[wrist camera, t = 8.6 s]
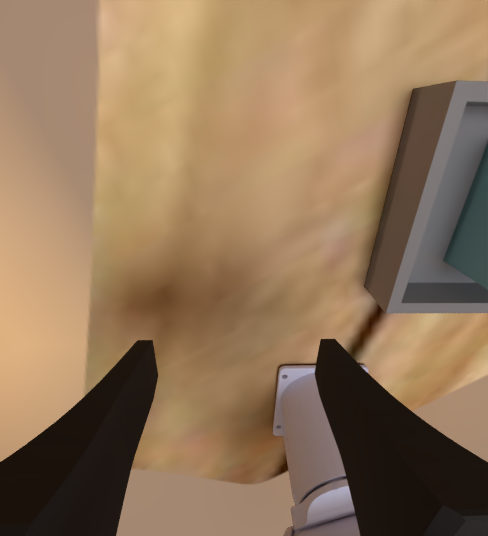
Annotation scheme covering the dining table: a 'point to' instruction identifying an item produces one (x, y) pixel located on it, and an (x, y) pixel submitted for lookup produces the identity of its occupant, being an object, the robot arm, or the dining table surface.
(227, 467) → the dining table surface
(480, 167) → the teal crate
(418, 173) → the gray tray
